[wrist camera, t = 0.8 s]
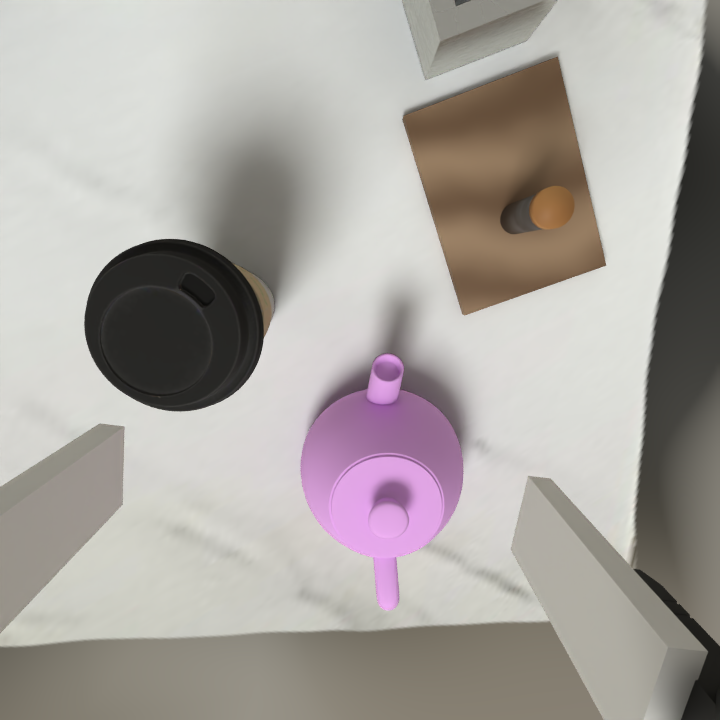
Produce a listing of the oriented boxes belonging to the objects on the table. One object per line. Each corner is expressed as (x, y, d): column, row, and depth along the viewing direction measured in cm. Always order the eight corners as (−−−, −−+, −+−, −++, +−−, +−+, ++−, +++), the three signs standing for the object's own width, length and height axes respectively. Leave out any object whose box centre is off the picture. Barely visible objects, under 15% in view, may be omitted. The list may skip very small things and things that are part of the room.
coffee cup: (305, 263, 36) (271, 262, 22) (283, 371, 38) (238, 438, 24) (191, 235, 36) (77, 215, 21) (174, 347, 38) (59, 400, 23)
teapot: (459, 336, 38) (499, 363, 27) (453, 543, 42) (485, 635, 32) (298, 339, 38) (276, 367, 27) (308, 546, 42) (292, 639, 32)
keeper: (402, 119, 34) (416, 77, 27) (552, 61, 33) (611, 1, 26) (462, 314, 37) (490, 326, 30) (600, 265, 37) (665, 265, 29)
